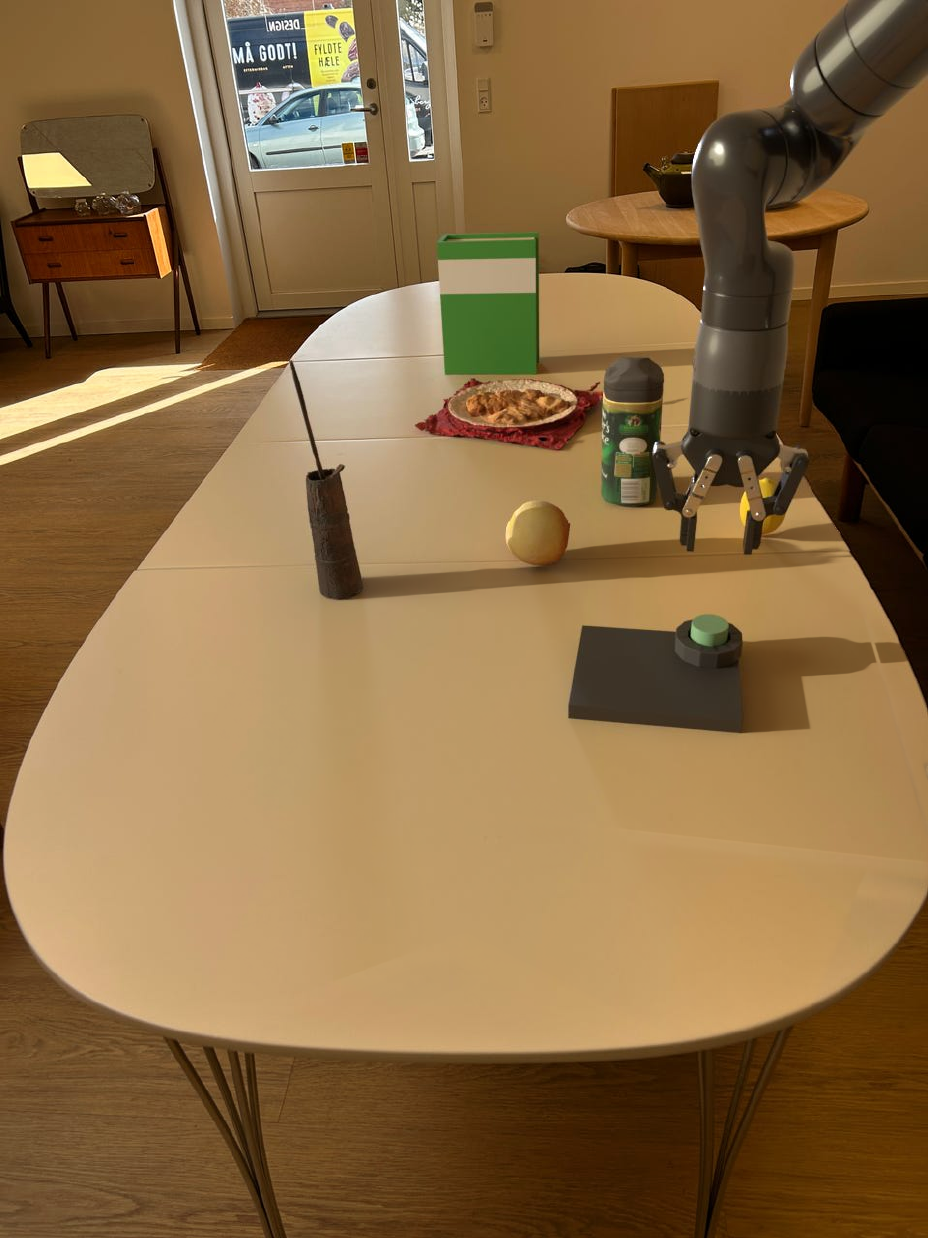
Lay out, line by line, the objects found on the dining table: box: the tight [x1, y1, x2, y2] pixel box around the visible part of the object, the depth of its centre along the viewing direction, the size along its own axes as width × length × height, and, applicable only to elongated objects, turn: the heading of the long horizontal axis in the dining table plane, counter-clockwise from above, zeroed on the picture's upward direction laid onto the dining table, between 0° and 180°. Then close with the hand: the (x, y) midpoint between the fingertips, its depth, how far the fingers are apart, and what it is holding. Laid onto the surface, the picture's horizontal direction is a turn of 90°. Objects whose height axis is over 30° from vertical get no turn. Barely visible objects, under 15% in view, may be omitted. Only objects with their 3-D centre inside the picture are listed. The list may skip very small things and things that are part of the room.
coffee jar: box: [600, 356, 665, 508], centre depth 126 cm, size 10×8×19 cm
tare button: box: [691, 613, 729, 647], centre depth 94 cm, size 4×4×2 cm
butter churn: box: [288, 359, 364, 600], centre depth 105 cm, size 9×10×28 cm
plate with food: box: [414, 377, 603, 451], centre depth 158 cm, size 24×26×4 cm
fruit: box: [505, 500, 571, 566], centre depth 113 cm, size 8×8×8 cm
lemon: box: [739, 477, 787, 538], centre depth 116 cm, size 6×6×8 cm
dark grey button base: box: [567, 618, 744, 734], centre depth 93 cm, size 16×14×4 cm
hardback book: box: [436, 231, 540, 375], centre depth 175 cm, size 18×7×24 cm, turn 82°
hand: (718, 548), depth 89 cm, fingers open, 4 cm apart
